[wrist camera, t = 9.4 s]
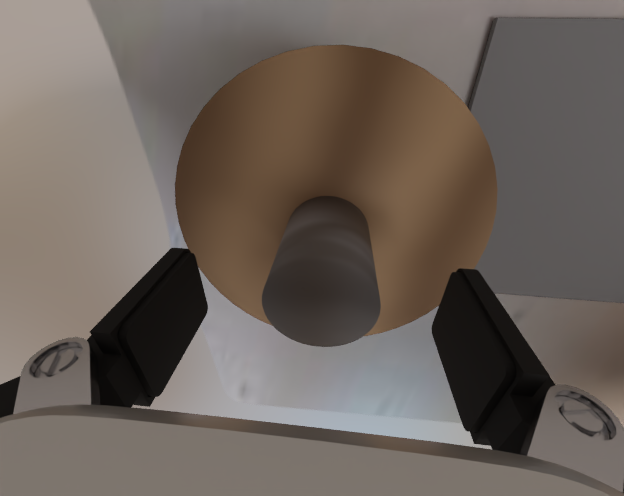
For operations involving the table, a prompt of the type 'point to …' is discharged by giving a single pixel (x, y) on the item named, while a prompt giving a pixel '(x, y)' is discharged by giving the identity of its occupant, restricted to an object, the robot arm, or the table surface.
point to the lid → (335, 192)
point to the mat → (555, 156)
